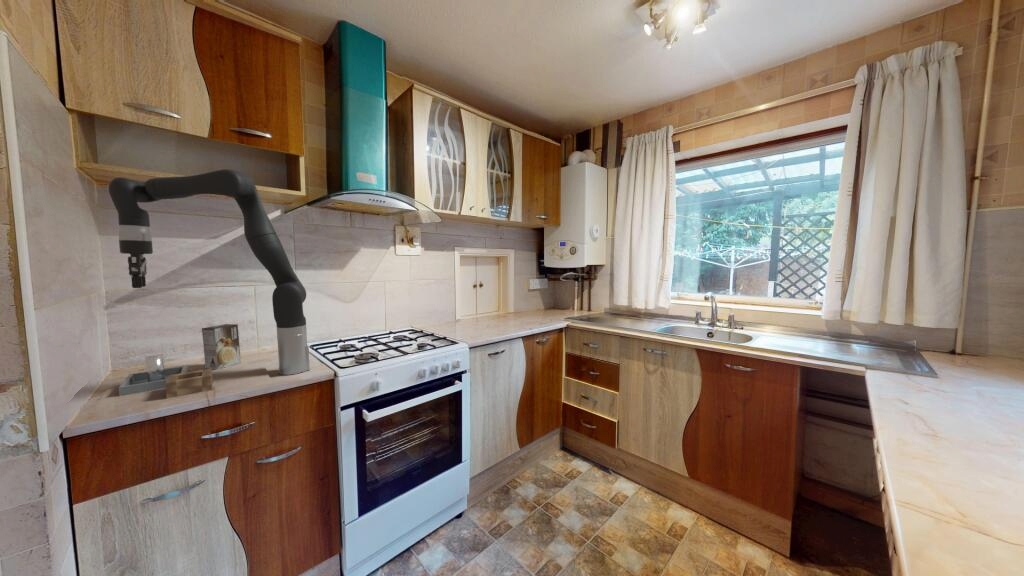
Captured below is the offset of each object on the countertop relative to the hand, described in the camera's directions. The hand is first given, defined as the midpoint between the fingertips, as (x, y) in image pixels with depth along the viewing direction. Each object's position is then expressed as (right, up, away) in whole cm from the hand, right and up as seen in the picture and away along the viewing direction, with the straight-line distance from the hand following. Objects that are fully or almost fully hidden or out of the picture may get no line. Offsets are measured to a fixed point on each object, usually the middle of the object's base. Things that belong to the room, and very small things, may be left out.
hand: (139, 287), depth 116 cm
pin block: (+27, -33, -9) cm, 44 cm away
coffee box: (+13, -31, +18) cm, 39 cm away
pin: (+9, -32, -3) cm, 33 cm away
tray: (+10, -33, -3) cm, 34 cm away
